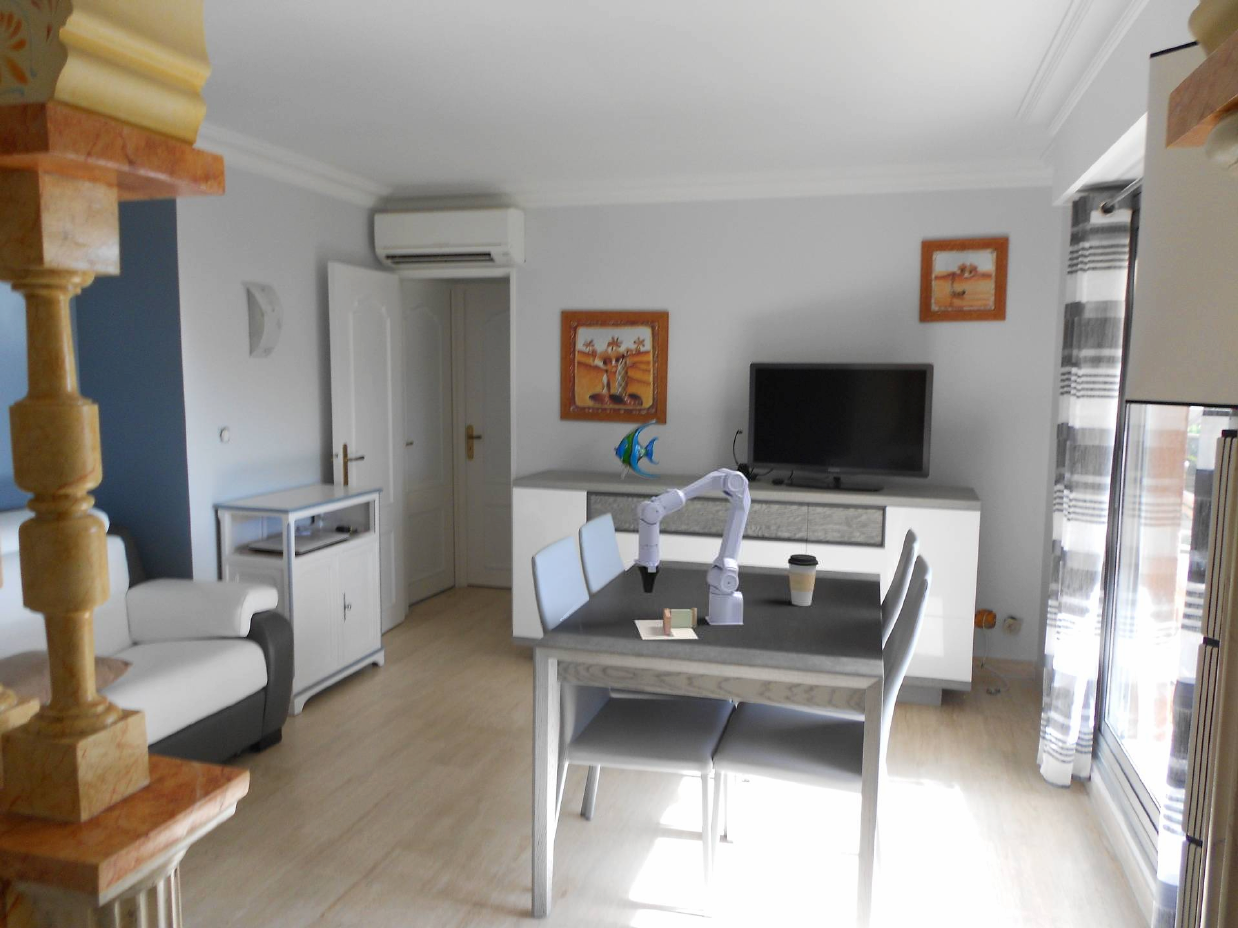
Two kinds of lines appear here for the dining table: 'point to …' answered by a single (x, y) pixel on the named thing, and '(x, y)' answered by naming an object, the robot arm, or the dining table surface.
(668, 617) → the fence panel
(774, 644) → the dining table surface
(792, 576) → the coffee cup
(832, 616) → the dining table surface
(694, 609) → the fence fixed
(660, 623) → the card
